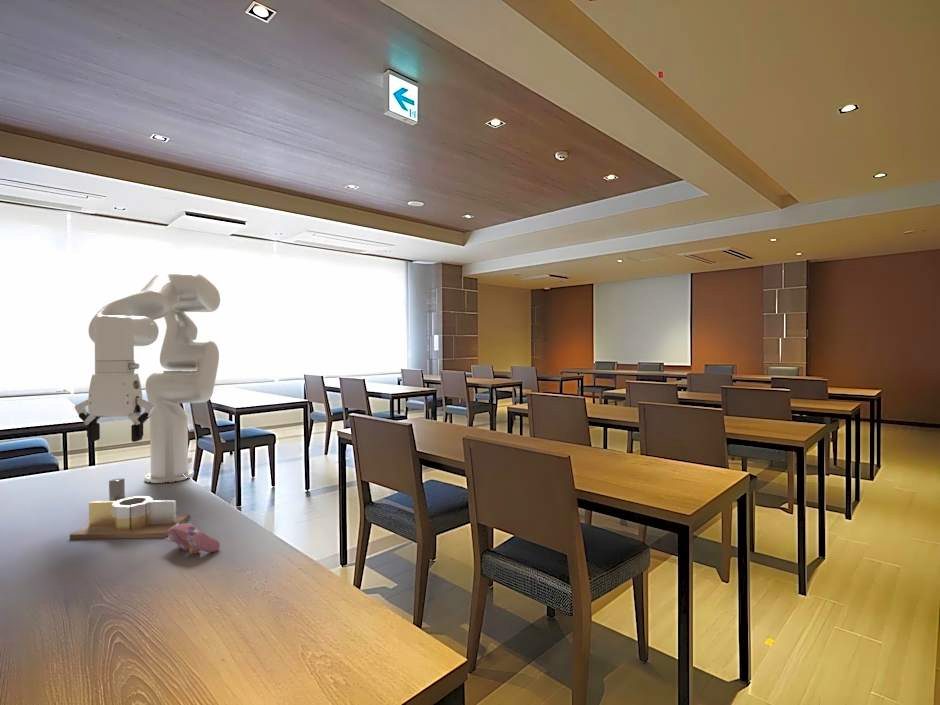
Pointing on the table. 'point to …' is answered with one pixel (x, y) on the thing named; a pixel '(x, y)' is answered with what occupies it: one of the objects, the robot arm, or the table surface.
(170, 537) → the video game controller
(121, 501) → the hinge
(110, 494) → the hinge pin
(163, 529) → the mounting board
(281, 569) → the table surface
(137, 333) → the robot arm
